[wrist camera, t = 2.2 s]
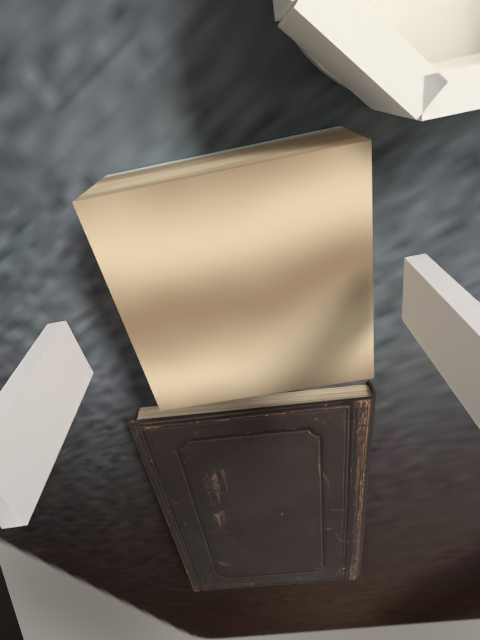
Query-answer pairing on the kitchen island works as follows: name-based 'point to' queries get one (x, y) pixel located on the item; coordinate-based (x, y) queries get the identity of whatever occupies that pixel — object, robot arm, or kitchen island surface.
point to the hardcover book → (263, 484)
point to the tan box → (242, 267)
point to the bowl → (393, 51)
